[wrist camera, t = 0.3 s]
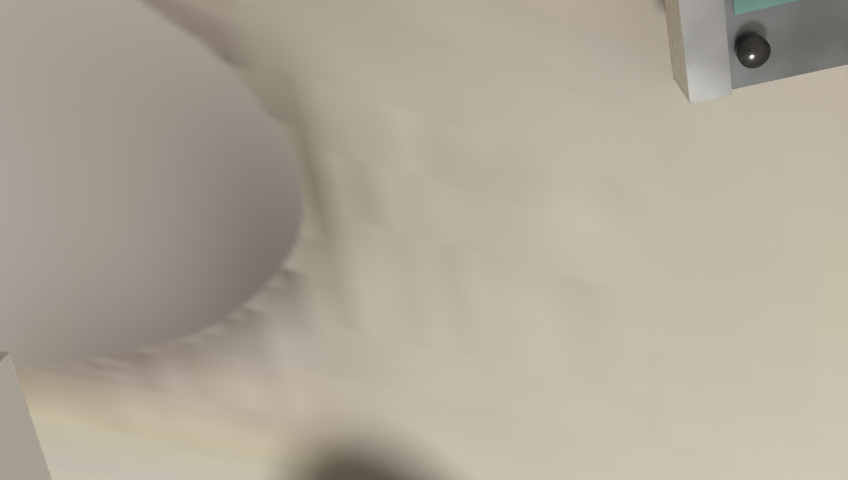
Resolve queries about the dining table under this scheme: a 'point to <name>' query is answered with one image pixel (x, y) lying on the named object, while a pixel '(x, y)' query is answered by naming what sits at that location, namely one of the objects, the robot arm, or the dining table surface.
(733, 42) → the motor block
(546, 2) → the dining table surface
